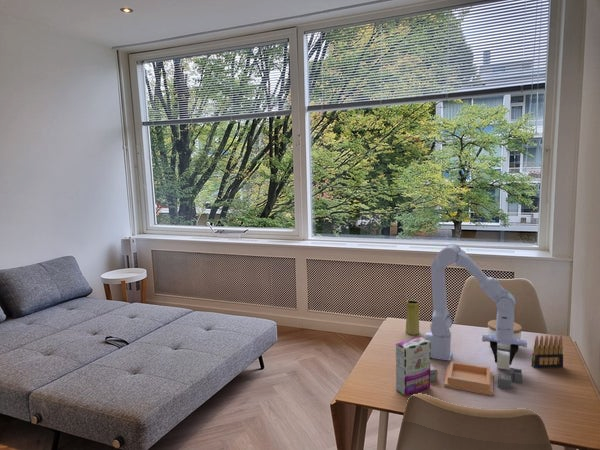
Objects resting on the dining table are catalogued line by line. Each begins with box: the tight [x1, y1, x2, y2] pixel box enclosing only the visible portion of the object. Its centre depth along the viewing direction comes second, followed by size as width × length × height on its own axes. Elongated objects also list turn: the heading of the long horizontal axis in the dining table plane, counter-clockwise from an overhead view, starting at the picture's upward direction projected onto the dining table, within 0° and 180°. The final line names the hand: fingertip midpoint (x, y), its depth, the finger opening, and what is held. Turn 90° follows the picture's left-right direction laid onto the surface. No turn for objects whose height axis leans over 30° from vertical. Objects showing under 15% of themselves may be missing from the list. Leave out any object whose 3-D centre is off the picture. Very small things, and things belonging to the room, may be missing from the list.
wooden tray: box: [443, 360, 494, 396], centre depth 144 cm, size 15×15×3 cm
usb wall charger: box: [430, 364, 439, 382], centre depth 148 cm, size 4×7×4 cm, turn 15°
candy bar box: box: [395, 336, 431, 397], centre depth 138 cm, size 11×5×16 cm, turn 117°
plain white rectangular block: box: [496, 349, 510, 371], centre depth 152 cm, size 4×4×5 cm
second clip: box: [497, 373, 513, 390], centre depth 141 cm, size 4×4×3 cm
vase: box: [404, 299, 420, 336], centre depth 187 cm, size 6×6×14 cm
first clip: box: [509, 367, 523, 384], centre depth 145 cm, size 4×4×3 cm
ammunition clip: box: [531, 334, 564, 369], centre depth 153 cm, size 11×2×12 cm, turn 91°
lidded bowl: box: [487, 319, 523, 351], centre depth 172 cm, size 13×13×11 cm
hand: (502, 362), depth 152 cm, fingers closed on plain white rectangular block, 4 cm apart
